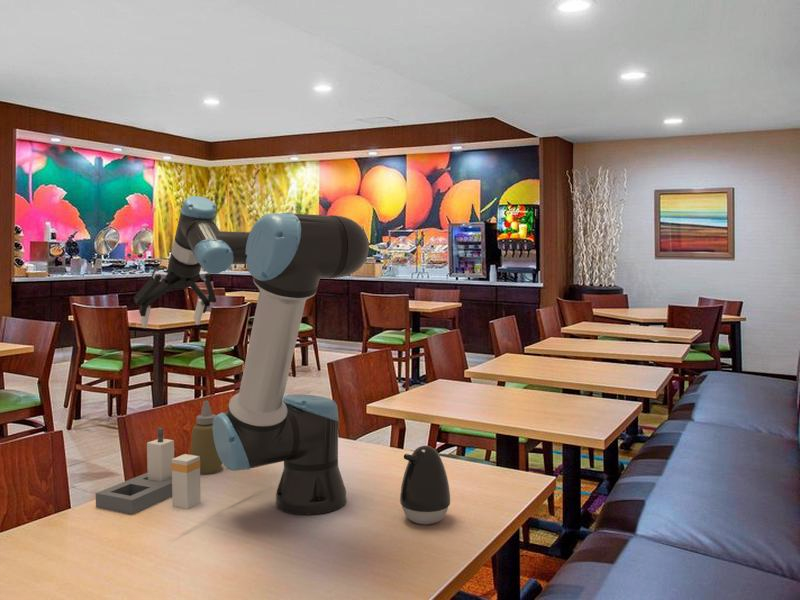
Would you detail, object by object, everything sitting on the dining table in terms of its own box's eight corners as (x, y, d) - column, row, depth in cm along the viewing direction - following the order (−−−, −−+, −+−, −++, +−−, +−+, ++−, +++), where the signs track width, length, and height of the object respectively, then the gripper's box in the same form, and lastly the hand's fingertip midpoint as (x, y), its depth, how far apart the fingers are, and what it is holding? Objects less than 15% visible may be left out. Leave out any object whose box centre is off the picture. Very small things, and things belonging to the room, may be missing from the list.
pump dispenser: (389, 517, 138) (389, 444, 137) (428, 506, 144) (429, 436, 143) (419, 534, 130) (420, 456, 129) (460, 521, 136) (461, 447, 135)
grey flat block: (193, 491, 153) (192, 473, 152) (132, 519, 136) (132, 500, 136) (158, 484, 156) (158, 468, 156) (96, 511, 140) (95, 493, 140)
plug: (200, 507, 143) (200, 456, 142) (187, 513, 139) (186, 461, 138) (185, 504, 145) (184, 453, 144) (172, 510, 141) (171, 459, 140)
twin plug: (174, 488, 151) (173, 427, 150) (161, 494, 148) (160, 431, 147) (160, 485, 153) (159, 425, 152) (147, 491, 149) (146, 429, 148)
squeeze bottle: (214, 480, 160) (213, 405, 159) (183, 478, 161) (182, 404, 160) (229, 469, 168) (229, 398, 167) (200, 467, 169) (199, 397, 168)
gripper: (230, 247, 172) (212, 311, 183) (129, 246, 157) (116, 315, 168) (241, 265, 168) (221, 329, 178) (138, 265, 152) (123, 335, 163)
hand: (170, 323), depth 173 cm, fingers open, 13 cm apart
